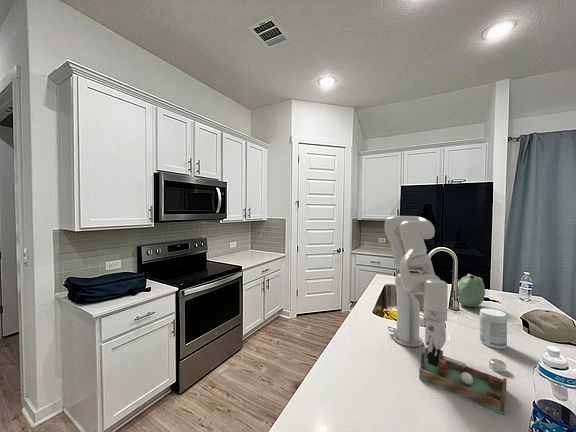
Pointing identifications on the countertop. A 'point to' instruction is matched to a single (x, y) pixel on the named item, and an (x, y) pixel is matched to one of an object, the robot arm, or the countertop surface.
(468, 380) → the ball
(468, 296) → the cabbage
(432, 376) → the pitch
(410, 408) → the countertop surface
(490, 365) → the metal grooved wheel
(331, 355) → the countertop surface
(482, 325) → the supplement tub
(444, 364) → the multicoloured piece
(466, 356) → the countertop surface
